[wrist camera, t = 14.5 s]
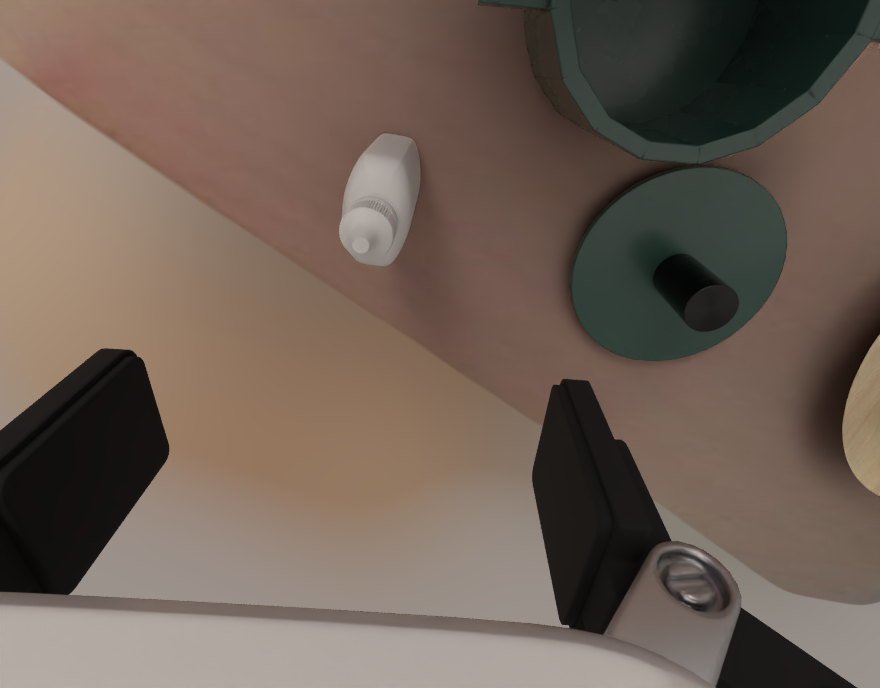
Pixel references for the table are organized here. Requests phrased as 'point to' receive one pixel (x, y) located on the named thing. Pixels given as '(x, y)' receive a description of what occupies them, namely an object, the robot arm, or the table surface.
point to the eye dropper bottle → (381, 200)
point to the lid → (678, 263)
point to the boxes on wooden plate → (864, 421)
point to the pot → (691, 67)
